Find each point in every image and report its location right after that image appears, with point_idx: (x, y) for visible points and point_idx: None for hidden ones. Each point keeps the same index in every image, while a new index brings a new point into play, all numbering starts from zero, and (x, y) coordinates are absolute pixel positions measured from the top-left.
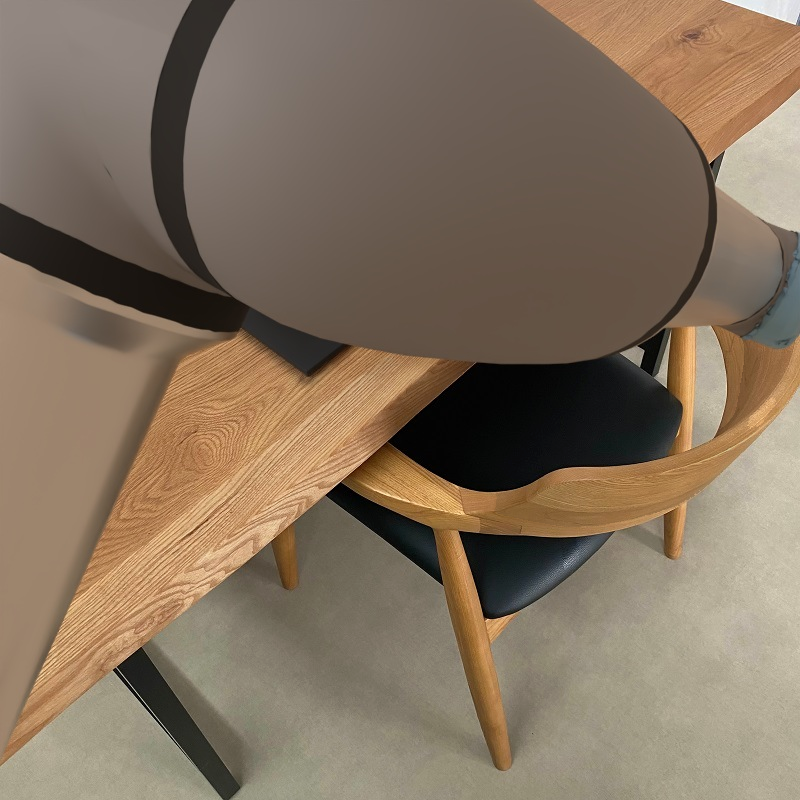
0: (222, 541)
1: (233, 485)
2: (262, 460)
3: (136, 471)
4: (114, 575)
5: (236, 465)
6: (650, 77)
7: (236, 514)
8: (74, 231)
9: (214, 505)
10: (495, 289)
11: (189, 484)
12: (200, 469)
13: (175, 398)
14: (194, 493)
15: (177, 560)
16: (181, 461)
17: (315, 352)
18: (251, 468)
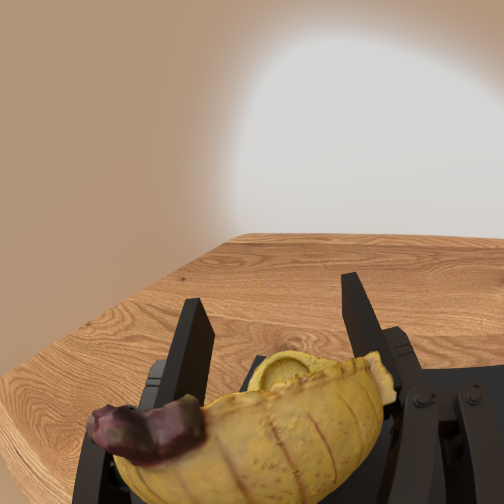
0: (11, 473)
1: (44, 475)
2: (64, 496)
3: (59, 401)
4: (5, 415)
5: (59, 474)
6: None
7: (25, 481)
8: None
9: (31, 464)
10: None
11: (46, 442)
12: (56, 446)
13: (123, 399)
14: (40, 447)
15: (5, 448)
16: (64, 430)
17: None
18: (57, 487)
